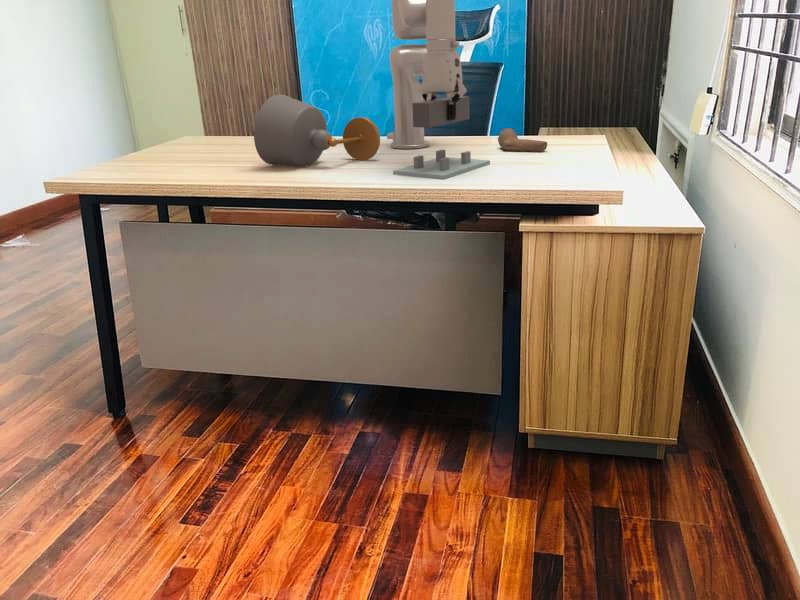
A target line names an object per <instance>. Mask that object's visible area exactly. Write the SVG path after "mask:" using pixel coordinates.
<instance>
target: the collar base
mask: <svg viewBox="0 0 800 600" xmlns="http://www.w3.org/2000/svg"><path fill="white" fill-rule="evenodd" d="M460 155H461V157H452V156H446V149H438V150H436V151H435V158H432V159H429V160H426V161H424V155H417V156H414V157H413V164H412V165H409V166H405V167H401V168H397V169H394V170H392V175H395V174H397V175H398V176H407V177H414V178H415V177H417V178H427V179H437V180H446V179H448V178H453V177H455V176H459V175H461V174H464V173H467V172H470V171H473V170H476V169H480V168H482V167H486V166H488V165H490V164H491V160H489V159H474V158H471V156H472V155H471V151H463V152H461V153H460ZM397 175H396V176H397Z"/></svg>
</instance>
